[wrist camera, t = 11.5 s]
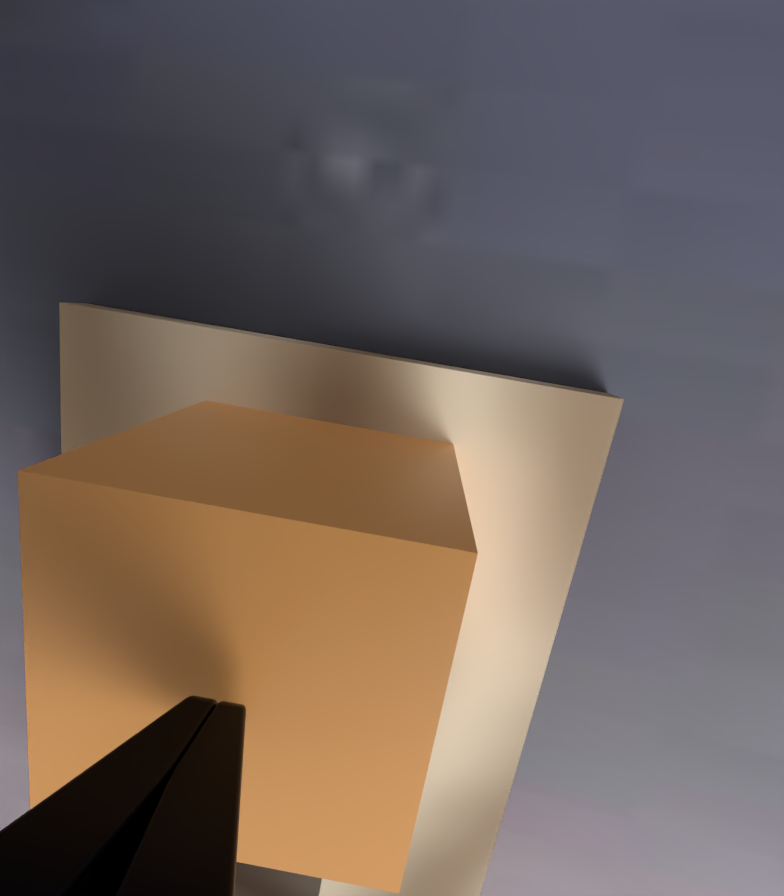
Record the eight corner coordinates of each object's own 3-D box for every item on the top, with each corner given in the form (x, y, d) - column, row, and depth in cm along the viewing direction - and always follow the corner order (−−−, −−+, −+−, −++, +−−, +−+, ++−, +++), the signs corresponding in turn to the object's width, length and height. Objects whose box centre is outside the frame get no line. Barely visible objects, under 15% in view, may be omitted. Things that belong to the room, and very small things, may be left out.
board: (85, 895, 19) (-48, 1121, 14) (86, 303, 13) (-142, 293, 8) (447, 966, 19) (456, 1225, 13) (608, 393, 13) (738, 446, 8)
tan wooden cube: (191, 617, 14) (30, 821, 8) (204, 400, 13) (17, 470, 7) (409, 657, 14) (399, 893, 8) (453, 443, 12) (477, 553, 7)
